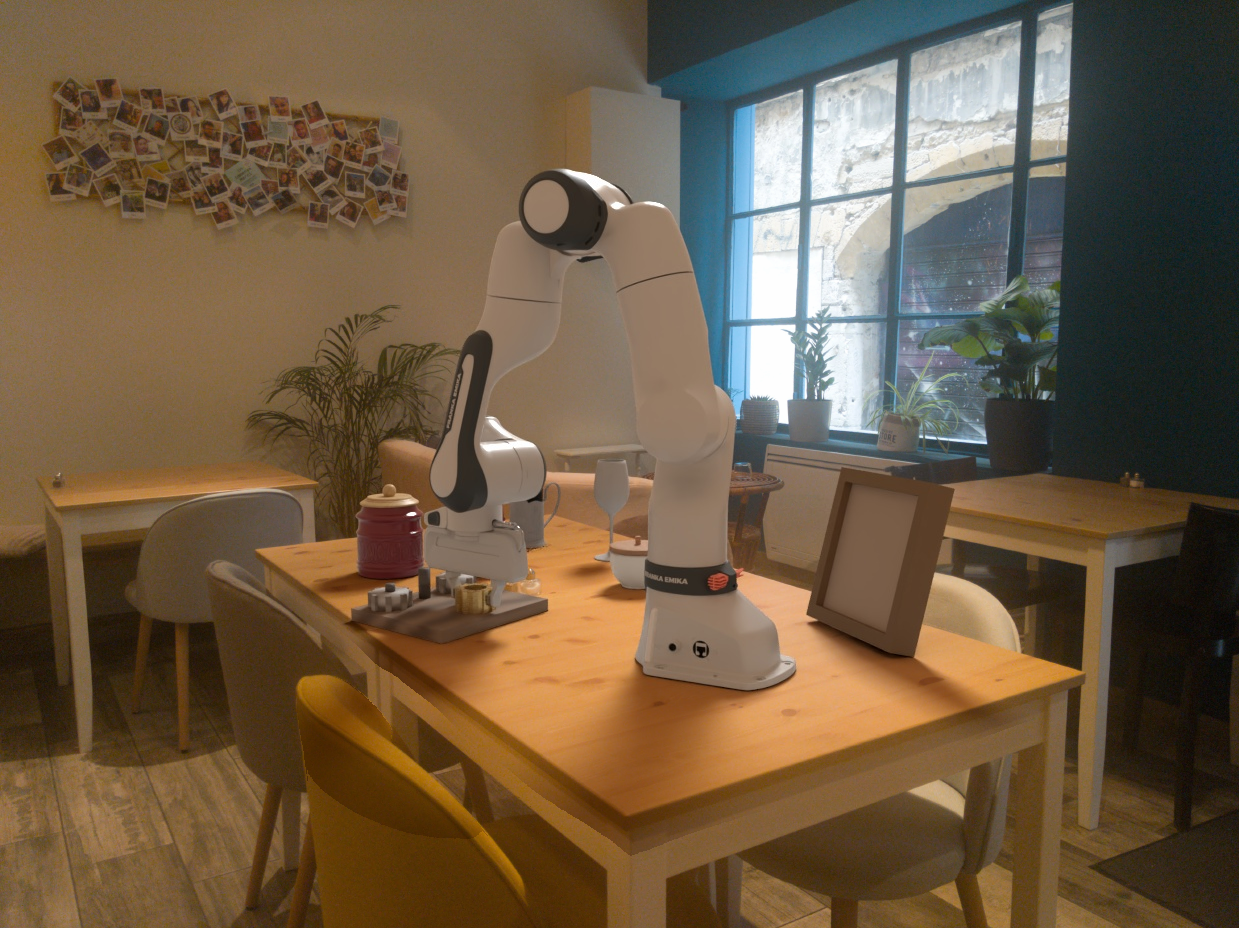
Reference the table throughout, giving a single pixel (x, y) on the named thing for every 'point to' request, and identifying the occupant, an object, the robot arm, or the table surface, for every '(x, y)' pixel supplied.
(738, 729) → the table surface
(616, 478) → the wineglass
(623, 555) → the lidded jar
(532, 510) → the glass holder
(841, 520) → the photo frame
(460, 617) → the gear board
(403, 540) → the canister
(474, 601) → the brass gear
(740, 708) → the table surface
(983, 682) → the table surface
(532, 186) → the robot arm
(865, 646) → the table surface
